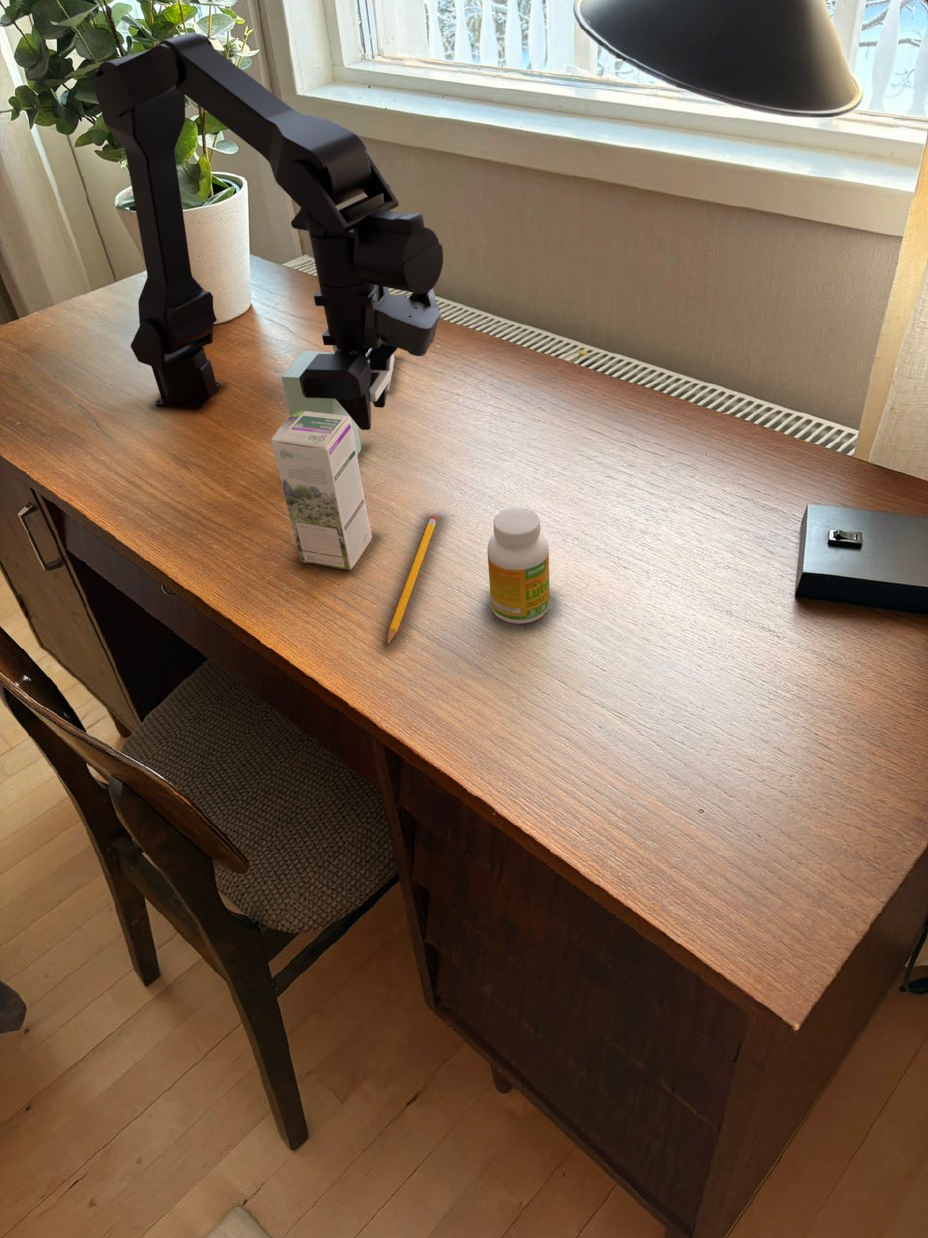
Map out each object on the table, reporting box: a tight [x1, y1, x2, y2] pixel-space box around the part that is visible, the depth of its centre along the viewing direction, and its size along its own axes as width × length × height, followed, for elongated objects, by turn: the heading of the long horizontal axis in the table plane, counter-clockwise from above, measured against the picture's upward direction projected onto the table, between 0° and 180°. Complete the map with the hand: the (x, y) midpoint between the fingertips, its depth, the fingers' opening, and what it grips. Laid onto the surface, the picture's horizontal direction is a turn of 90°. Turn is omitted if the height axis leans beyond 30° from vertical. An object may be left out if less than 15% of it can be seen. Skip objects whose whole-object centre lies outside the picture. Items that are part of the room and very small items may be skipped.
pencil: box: [387, 515, 438, 645], centre depth 91 cm, size 1×19×1 cm, turn 169°
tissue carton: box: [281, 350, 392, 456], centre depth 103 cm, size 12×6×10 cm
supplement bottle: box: [487, 507, 550, 625], centre depth 84 cm, size 5×5×10 cm
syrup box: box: [270, 410, 373, 571], centre depth 90 cm, size 6×6×14 cm
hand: (373, 417), depth 103 cm, fingers closed on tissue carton, 4 cm apart
